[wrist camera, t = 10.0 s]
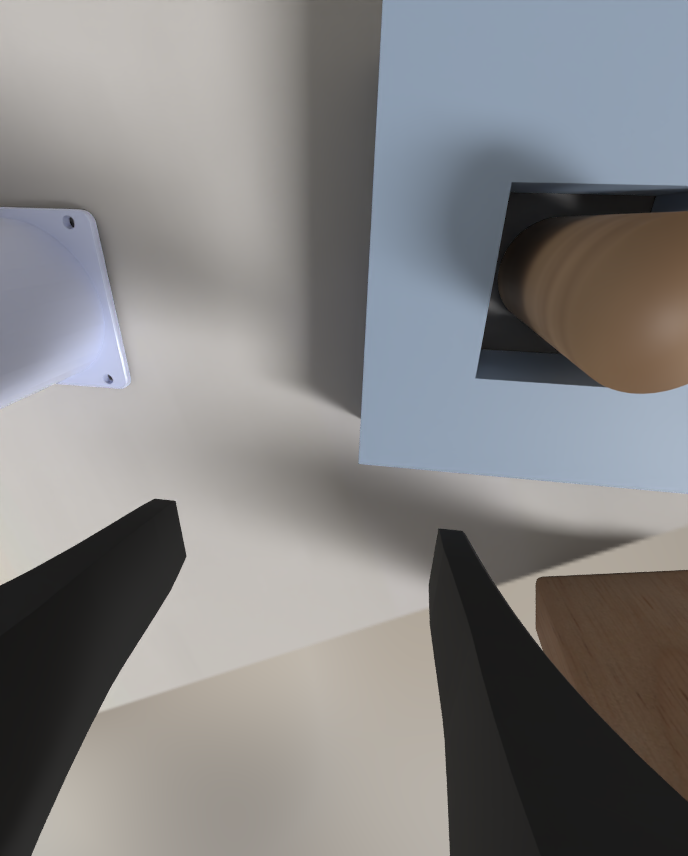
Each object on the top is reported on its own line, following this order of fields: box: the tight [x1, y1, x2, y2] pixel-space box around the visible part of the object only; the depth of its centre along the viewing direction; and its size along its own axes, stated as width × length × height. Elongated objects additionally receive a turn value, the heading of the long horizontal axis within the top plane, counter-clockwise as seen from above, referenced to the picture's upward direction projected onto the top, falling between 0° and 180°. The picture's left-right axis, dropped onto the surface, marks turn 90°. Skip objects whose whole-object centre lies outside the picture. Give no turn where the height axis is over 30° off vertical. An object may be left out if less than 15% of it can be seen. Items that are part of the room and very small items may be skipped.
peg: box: [498, 211, 688, 394], centre depth 13 cm, size 4×4×8 cm
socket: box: [359, 0, 688, 494], centre depth 15 cm, size 14×14×4 cm
